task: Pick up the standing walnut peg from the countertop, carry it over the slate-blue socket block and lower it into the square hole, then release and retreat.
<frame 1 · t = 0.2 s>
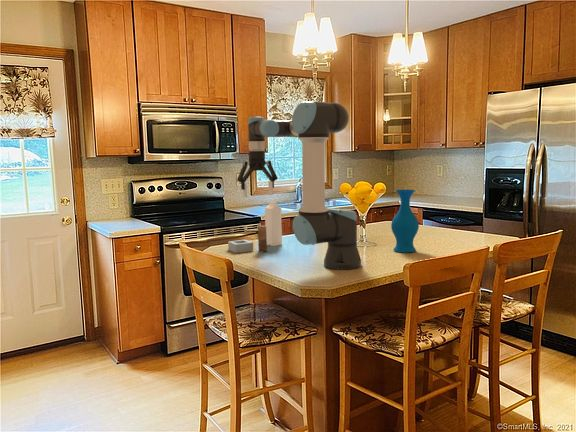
hand: (258, 195, 223), 26 cm above the countertop, fingers open, 13 cm apart
milk: (273, 245, 238), on the countertop
vase: (404, 251, 217), on the countertop
peg: (262, 251, 223), on the countertop
socket block: (240, 250, 226), on the countertop
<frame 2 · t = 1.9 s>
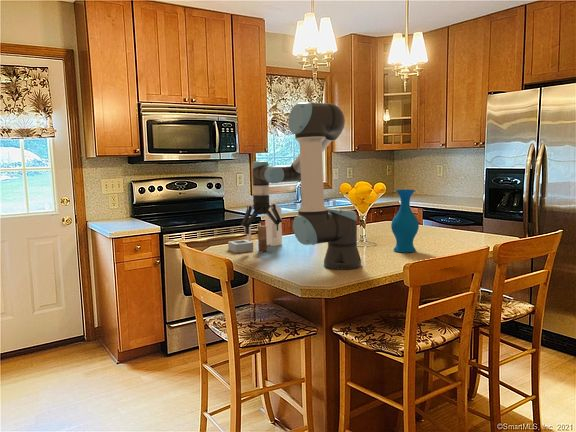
hand: (262, 239, 222), 6 cm above the countertop, fingers open, 13 cm apart
nothing on the countertop moved.
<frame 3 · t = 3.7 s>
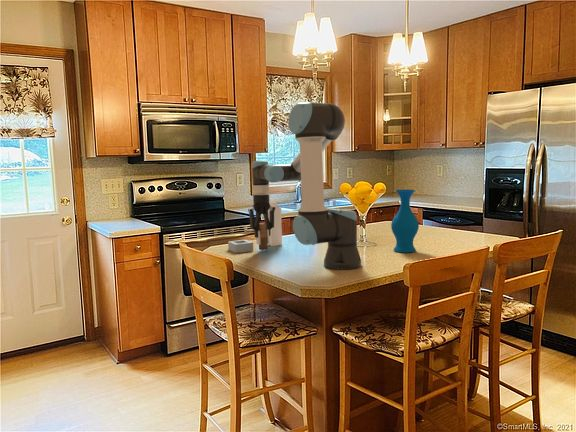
hand: (262, 243, 222), 4 cm above the countertop, fingers closed on peg, 4 cm apart
peg: (263, 249, 222), point 1 cm above the countertop, touching gripper
everything else where it was.
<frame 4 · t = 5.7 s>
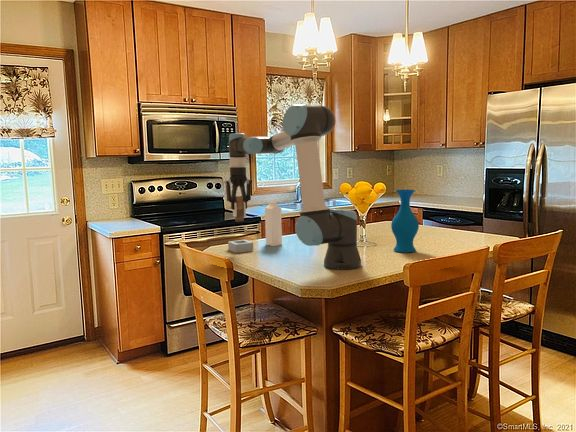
hand: (239, 215, 224), 17 cm above the countertop, fingers closed on peg, 4 cm apart
peg: (239, 221, 225), point 14 cm above the countertop, touching gripper
everything else where it was.
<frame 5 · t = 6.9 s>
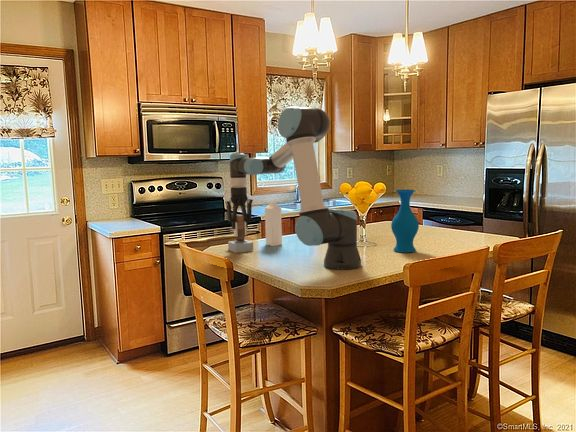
hand: (240, 235, 225), 7 cm above the countertop, fingers closed on peg, 4 cm apart
peg: (240, 240, 226), point 5 cm above the countertop, touching gripper
everything else where it was.
when the fingers open (6 cm above the countertop, at t = 8.1 s): peg drops 3 cm, resting in socket block.
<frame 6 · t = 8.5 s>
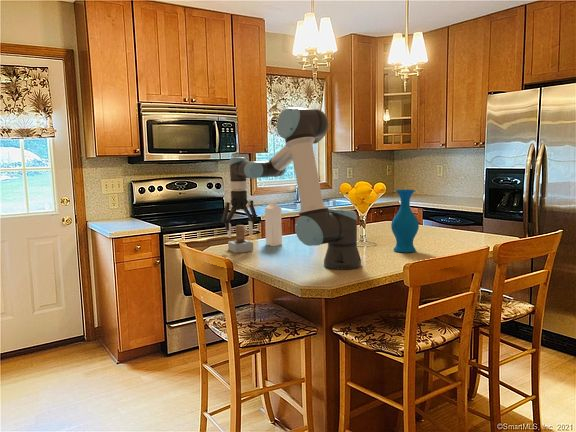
hand: (240, 236, 225), 7 cm above the countertop, fingers open, 10 cm apart
peg: (240, 250, 226), resting in socket block
everything else where it was.
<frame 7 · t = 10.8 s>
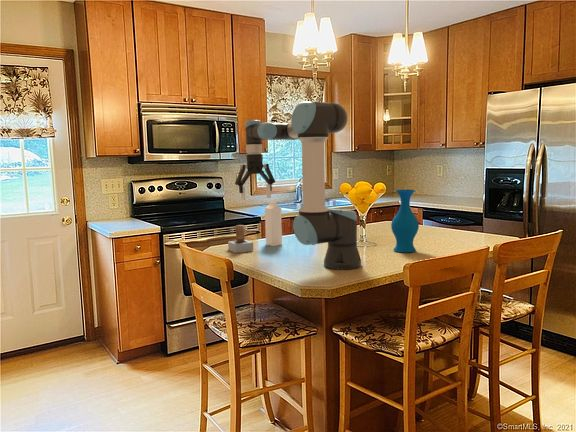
hand: (256, 199, 222), 25 cm above the countertop, fingers open, 13 cm apart
nothing on the countertop moved.
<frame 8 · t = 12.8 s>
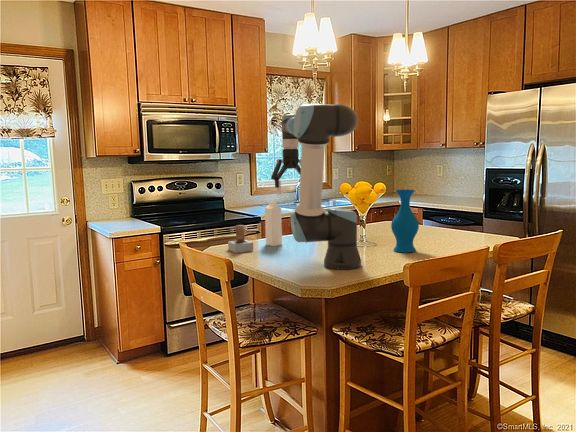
hand: (291, 193, 223), 27 cm above the countertop, fingers open, 13 cm apart
nothing on the countertop moved.
at the end: peg 0.0 cm off-centre on the socket block, point 0.0 cm above the socket block's base; peg tilted 0°; the gripper is holding nothing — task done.
